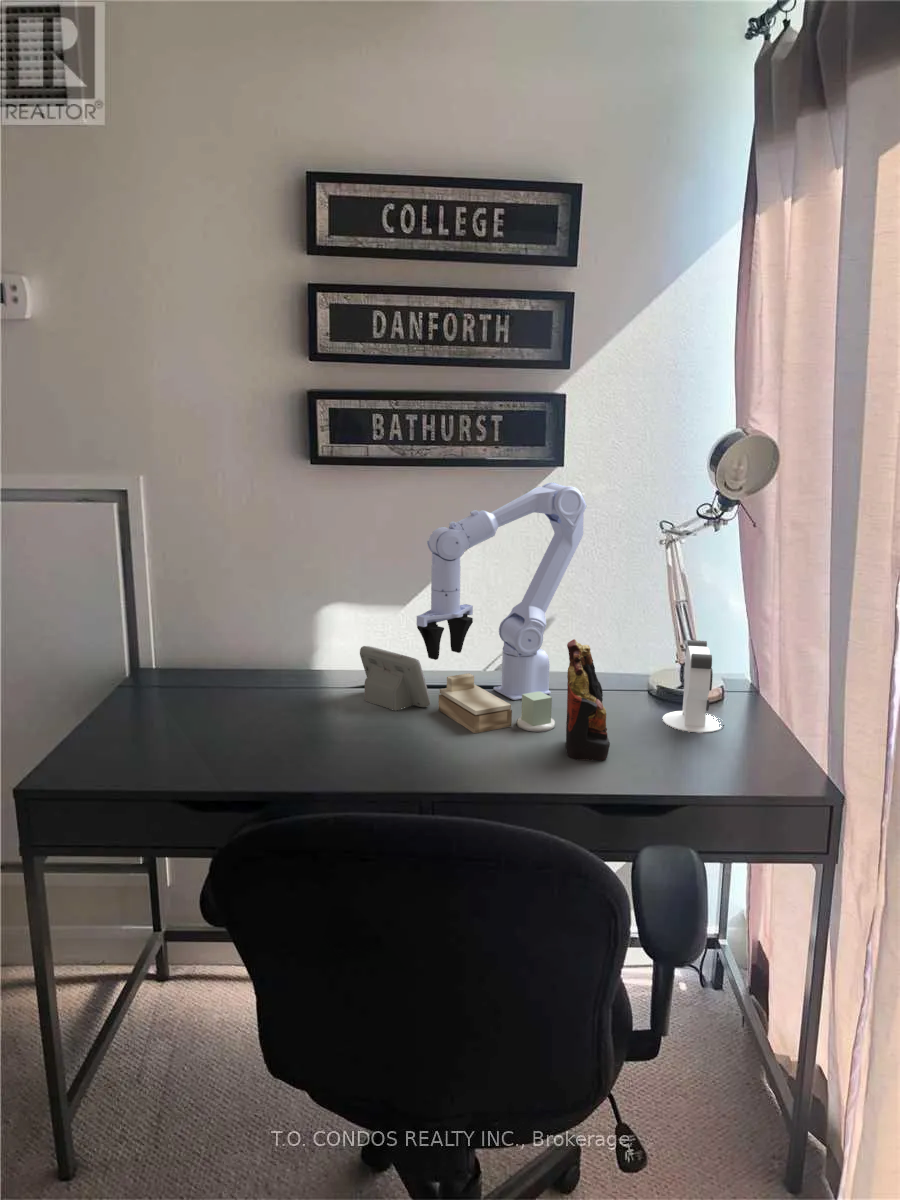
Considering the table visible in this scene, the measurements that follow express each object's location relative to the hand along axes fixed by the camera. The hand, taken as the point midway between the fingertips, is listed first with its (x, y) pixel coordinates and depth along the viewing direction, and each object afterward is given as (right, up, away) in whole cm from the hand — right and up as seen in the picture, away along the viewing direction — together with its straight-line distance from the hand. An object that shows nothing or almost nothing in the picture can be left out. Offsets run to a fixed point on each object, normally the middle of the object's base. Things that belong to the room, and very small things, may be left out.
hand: (444, 655), depth 180 cm
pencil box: (+6, -12, -8) cm, 15 cm away
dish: (+17, -12, -11) cm, 24 cm away
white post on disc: (+47, -13, -9) cm, 50 cm away
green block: (+17, -12, -12) cm, 24 cm away
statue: (+25, -15, -22) cm, 37 cm away
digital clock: (-10, -10, +1) cm, 14 cm away
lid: (+6, -8, -9) cm, 13 cm away
